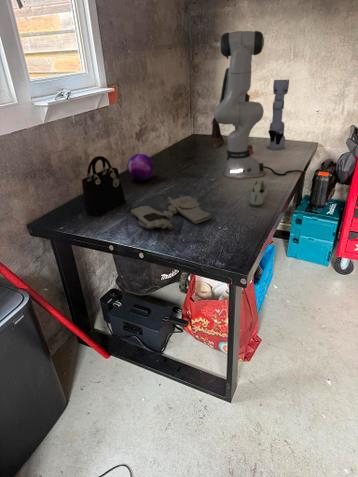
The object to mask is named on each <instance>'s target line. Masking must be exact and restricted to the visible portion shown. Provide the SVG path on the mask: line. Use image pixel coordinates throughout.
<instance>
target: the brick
mask: <svg viewBox="0 0 358 477" xmlns="http://www.w3.org/2000/svg"><path fill="white" fill-rule="evenodd" d="M253 148H254V147H253V145H252V144H248V147H247V149H249V150H251V151H252V152H253Z"/></svg>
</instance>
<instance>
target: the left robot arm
mask: <svg viewBox="0 0 358 477" xmlns="http://www.w3.org/2000/svg"><path fill="white" fill-rule="evenodd" d="M218 45H219V46H218V47H219V51H220V54H221V55H222V56H223V57H225V58H226V60H228V59H229V58H230V59H229V66H228V67H226V69H225V71H224V75H223V79H222V87H221V92H220V97H219V99H218V104H217V105H216V107H215V108H214V111H213V115H214V116H213V118H214V117H215V120H216V121H217V122H218V123H219V125H220V124H221V125H232V126H233V127H234V130H233V131H232V130H231V132H229V134H228V135H227V149H226V152H225V153H226V154H225V159H226V165H225V169H224V172H223V174H224V176H225V177H228V178H232V179H233V178H234V179H237V180H243V179H250V178H258V177H259V178H260V177H263V176H264V175H265V172H264V169H267V170H270V171H271V172H272V173H273V174H275V175H277V176H279V177H281V176H282V177H283V176H286V175H287V174H289V173H301V174H302V175H306V173H305V172H304V171H303V170H300V169H292V170H286V171H285V172H284V173H279V172H277V171H275V170H274V169H272V167H268V166H265V165H264V163H263V162H259V161H258V160H257V159H256V158H255V157H254V156H253V154H254V152H253V150H252V151H251V150H249V149H247V147H248V145H249V137H250V134H251V132H252V129H253V128H254V127H255V126H256V125H257V124H258V123H259V122H260V121H261V120H262V119H263V116H264V106H263V105H262V103H261V102H257V101H252V100H251V101H250V97H251V96H250V94H249V93H248V92H249V91H250V89H251V86H252V63H253V62H252V61H253V60H252V59H253V56H257V55H259V54H261V53H262V52H263V49H264V46H265V38H264V34H263V32H262V31H259V30H254V31H251V30H237V31H231V32H230V31H229V32H225V33H223V34H222V35H221V36H220V40H219V43H218Z"/></svg>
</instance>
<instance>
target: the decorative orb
mask: <svg viewBox="0 0 358 477" xmlns="http://www.w3.org/2000/svg"><path fill="white" fill-rule="evenodd" d="M126 168H127V172H128V175H129V177H131V178H132V179H133V180H136V181H138V182H139V181H140V182H141V181H146V180H148V179H149V178H151V176H152V175H153V173H154V169H155V166H154V162H153V160H152V158H151V157H150V156H148V155H147V154H145V153H136V154H134V155H132V156H130V158H129V159H128V161H127V165H126Z"/></svg>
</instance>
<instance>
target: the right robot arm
mask: <svg viewBox="0 0 358 477" xmlns="http://www.w3.org/2000/svg"><path fill="white" fill-rule="evenodd" d="M289 88H290V79H289V78H288V79H274V80H273V86H272V89H273V90H272V92H273V95H274V99H273V102H272V120H271V122H270V123H269V129H268V131H267V132H268V135H269V140H270V143H269V146H267V148H268V149H270V150H272V151H276V150H283V149H285V144H286V137H285V127H286V126H285V122H284V121H283V111H284V109H285V96H286V95H287V94H288V92H289Z"/></svg>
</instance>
